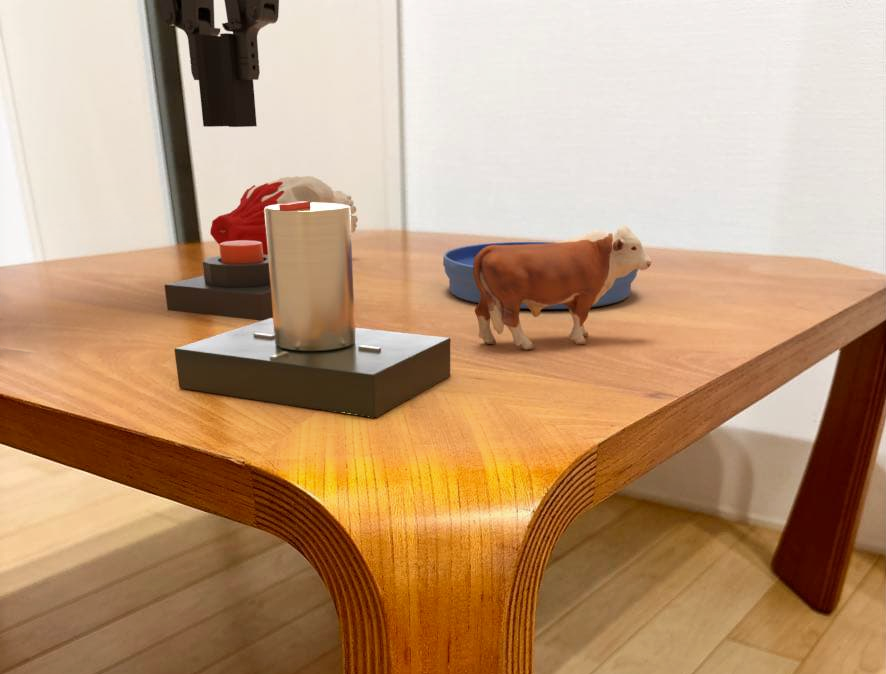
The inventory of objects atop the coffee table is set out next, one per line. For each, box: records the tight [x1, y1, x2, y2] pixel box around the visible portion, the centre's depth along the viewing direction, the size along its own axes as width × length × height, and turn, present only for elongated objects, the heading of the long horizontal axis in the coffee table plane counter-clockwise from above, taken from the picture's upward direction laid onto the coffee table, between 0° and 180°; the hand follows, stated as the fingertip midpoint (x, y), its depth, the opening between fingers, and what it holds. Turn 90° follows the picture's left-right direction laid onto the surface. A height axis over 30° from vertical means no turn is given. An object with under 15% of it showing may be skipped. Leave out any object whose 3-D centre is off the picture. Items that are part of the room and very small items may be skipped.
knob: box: [264, 201, 356, 351], centre depth 55 cm, size 5×5×8 cm
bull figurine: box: [473, 225, 653, 350], centre depth 66 cm, size 4×13×8 cm, turn 105°
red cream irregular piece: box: [209, 175, 359, 255], centre depth 103 cm, size 9×11×15 cm
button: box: [218, 240, 264, 263], centre depth 78 cm, size 4×4×2 cm
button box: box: [163, 255, 273, 321], centre depth 79 cm, size 10×9×4 cm
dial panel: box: [174, 318, 451, 418], centre depth 57 cm, size 14×10×3 cm
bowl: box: [442, 241, 639, 310], centre depth 85 cm, size 18×18×4 cm
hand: (230, 125), depth 74 cm, fingers closed
